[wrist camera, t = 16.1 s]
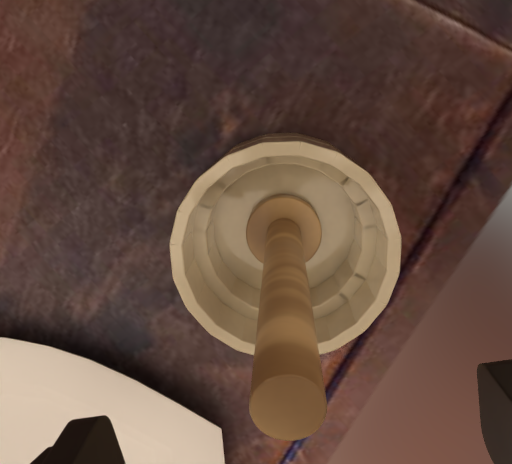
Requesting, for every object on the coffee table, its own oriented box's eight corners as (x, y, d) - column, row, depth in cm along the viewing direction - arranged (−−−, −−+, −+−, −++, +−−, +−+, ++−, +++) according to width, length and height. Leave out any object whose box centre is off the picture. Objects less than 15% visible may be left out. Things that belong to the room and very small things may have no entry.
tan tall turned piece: (274, 178, 24) (264, 298, 10) (335, 220, 25) (413, 392, 10) (233, 238, 25) (169, 425, 11) (292, 276, 26) (308, 505, 11)
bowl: (258, 93, 23) (251, 91, 18) (414, 201, 25) (450, 230, 19) (159, 247, 26) (129, 285, 21) (304, 339, 27) (310, 396, 22)
